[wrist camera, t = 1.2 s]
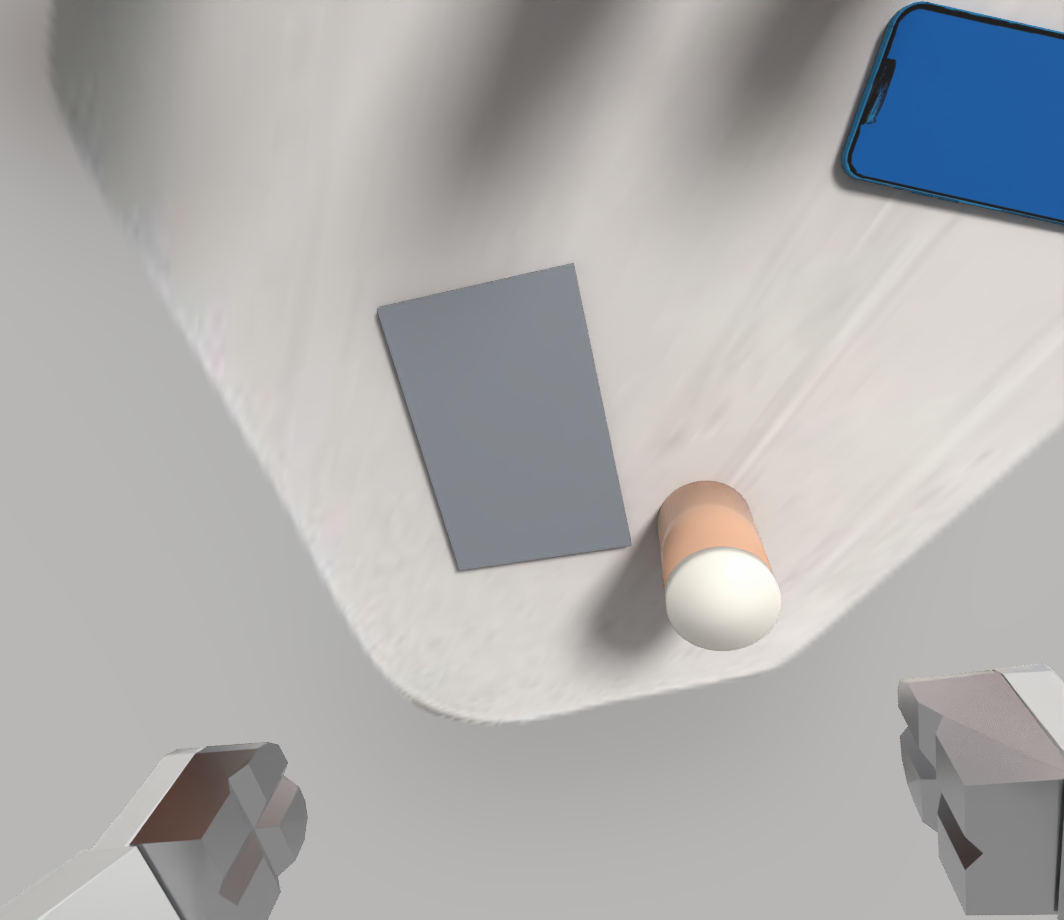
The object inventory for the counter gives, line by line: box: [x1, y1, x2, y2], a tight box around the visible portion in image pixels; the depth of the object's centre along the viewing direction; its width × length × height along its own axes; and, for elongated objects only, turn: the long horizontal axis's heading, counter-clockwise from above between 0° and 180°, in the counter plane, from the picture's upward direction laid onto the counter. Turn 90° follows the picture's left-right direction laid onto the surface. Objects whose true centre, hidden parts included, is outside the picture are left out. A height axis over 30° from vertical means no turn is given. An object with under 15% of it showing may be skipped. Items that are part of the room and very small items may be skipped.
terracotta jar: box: [658, 481, 781, 651], centre depth 38 cm, size 6×6×8 cm
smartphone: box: [841, 1, 1064, 225], centre depth 32 cm, size 7×1×15 cm
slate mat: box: [377, 263, 631, 570], centre depth 41 cm, size 17×11×1 cm, turn 13°
